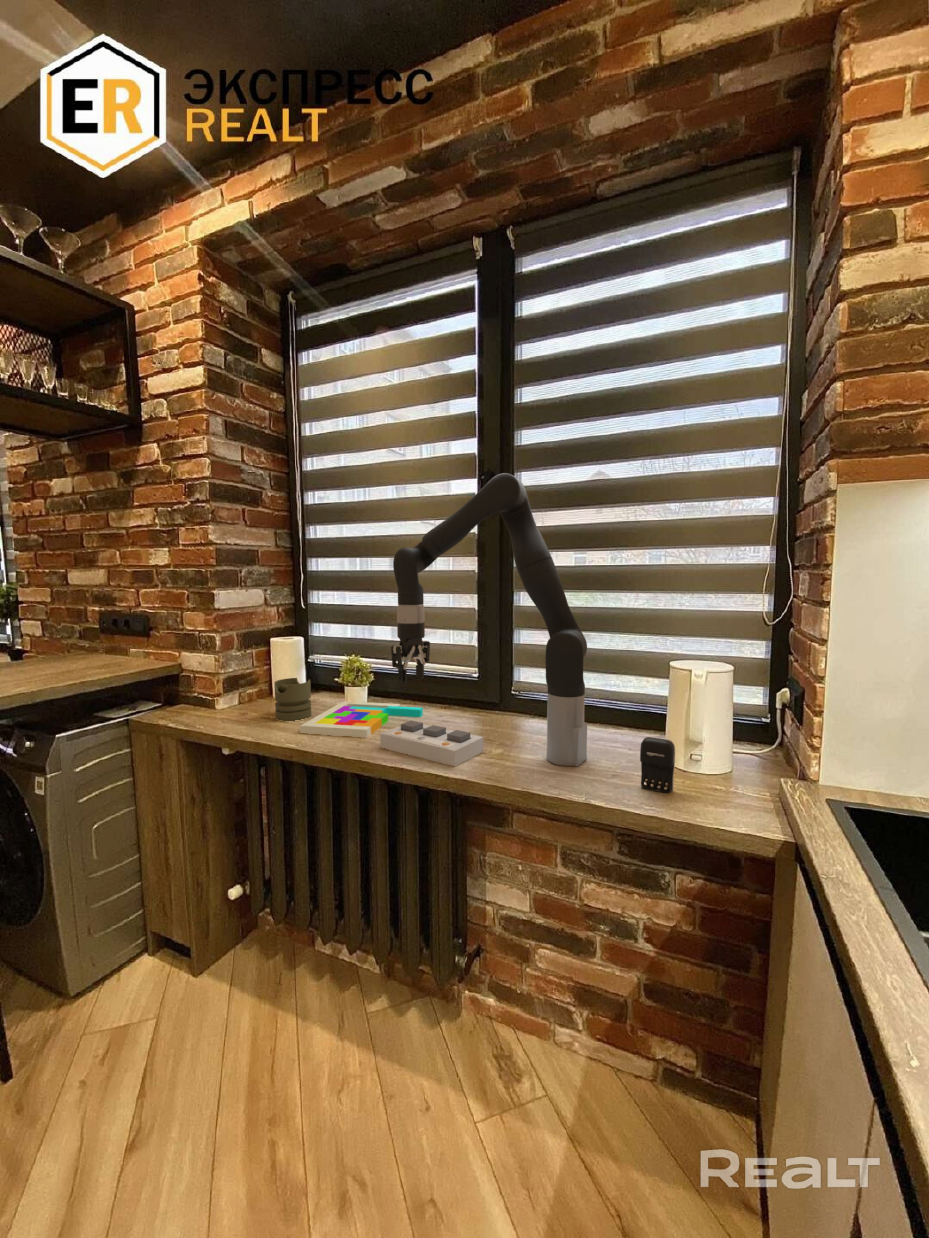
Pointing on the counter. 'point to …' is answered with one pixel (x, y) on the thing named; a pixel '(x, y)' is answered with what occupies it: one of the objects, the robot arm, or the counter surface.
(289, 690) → the piston
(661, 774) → the battery charger
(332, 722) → the puzzle game
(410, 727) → the button far
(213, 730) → the counter surface
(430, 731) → the button middle
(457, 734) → the button near
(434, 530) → the robot arm
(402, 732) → the button panel
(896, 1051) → the counter surface
